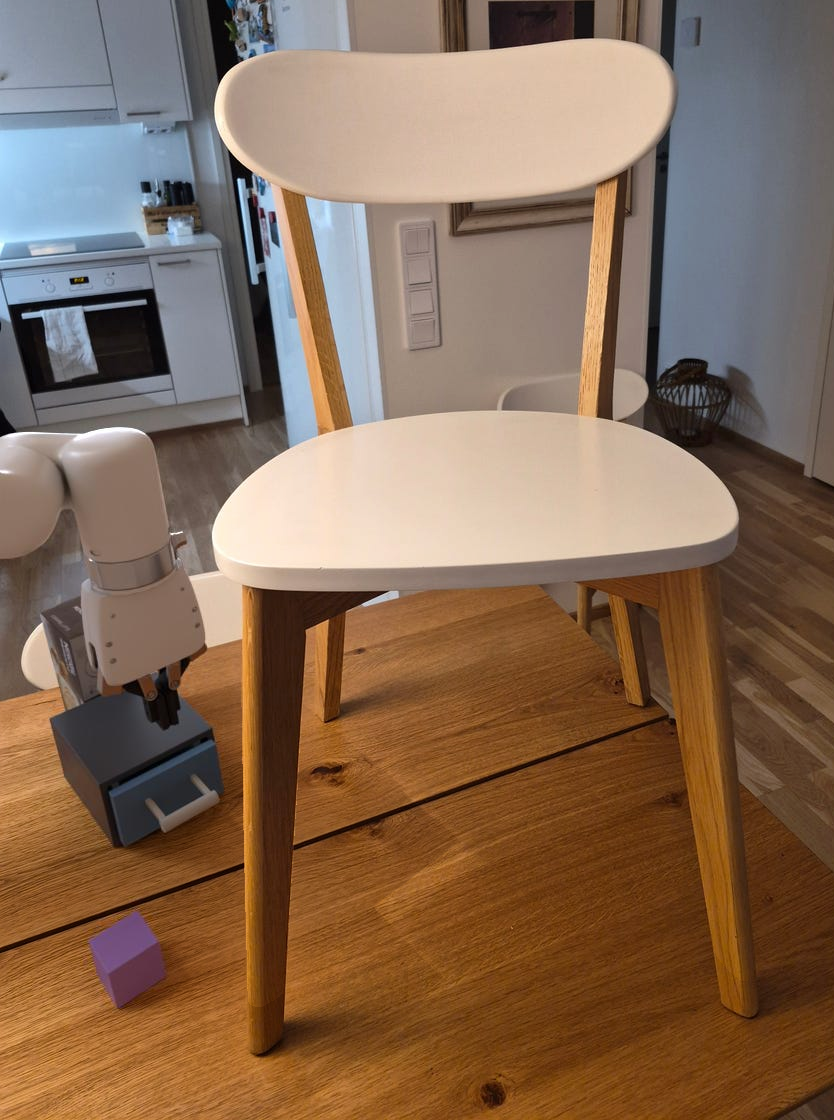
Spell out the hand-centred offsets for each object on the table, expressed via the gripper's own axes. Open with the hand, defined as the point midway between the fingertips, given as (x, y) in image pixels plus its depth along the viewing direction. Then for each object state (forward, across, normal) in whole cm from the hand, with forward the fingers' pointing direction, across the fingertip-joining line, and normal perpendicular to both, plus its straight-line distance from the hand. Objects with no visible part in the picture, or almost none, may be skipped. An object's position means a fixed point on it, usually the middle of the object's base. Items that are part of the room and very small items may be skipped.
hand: (165, 720), depth 86 cm
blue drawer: (+14, 0, -6) cm, 15 cm away
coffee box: (+15, -1, -25) cm, 29 cm away
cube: (+15, +11, +12) cm, 22 cm away
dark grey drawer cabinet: (+15, 0, -11) cm, 19 cm away
